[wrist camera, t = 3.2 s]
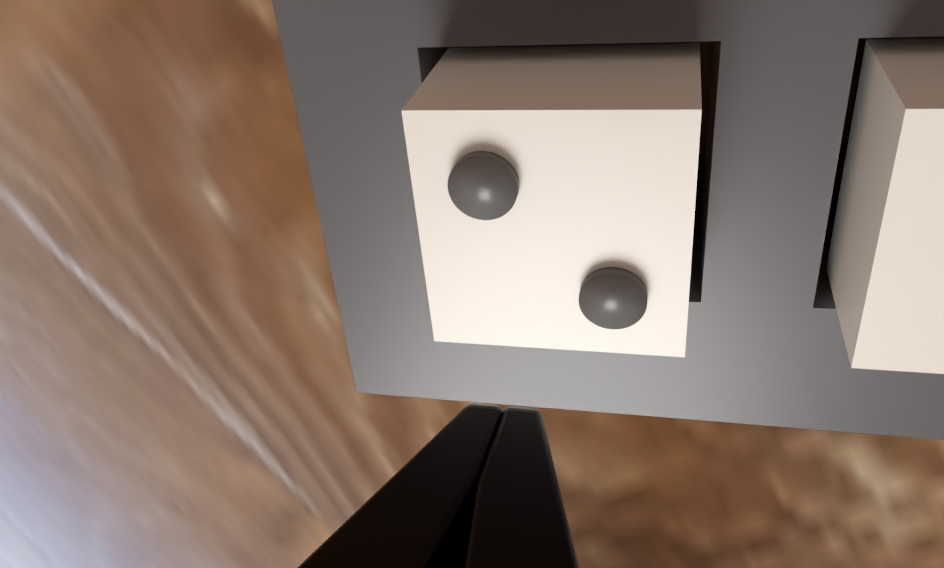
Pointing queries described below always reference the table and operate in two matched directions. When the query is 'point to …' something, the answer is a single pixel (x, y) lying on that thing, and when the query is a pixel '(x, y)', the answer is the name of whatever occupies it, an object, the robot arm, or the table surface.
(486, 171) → the tile two dots
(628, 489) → the table surface
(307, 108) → the button panel
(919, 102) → the tile one dot
